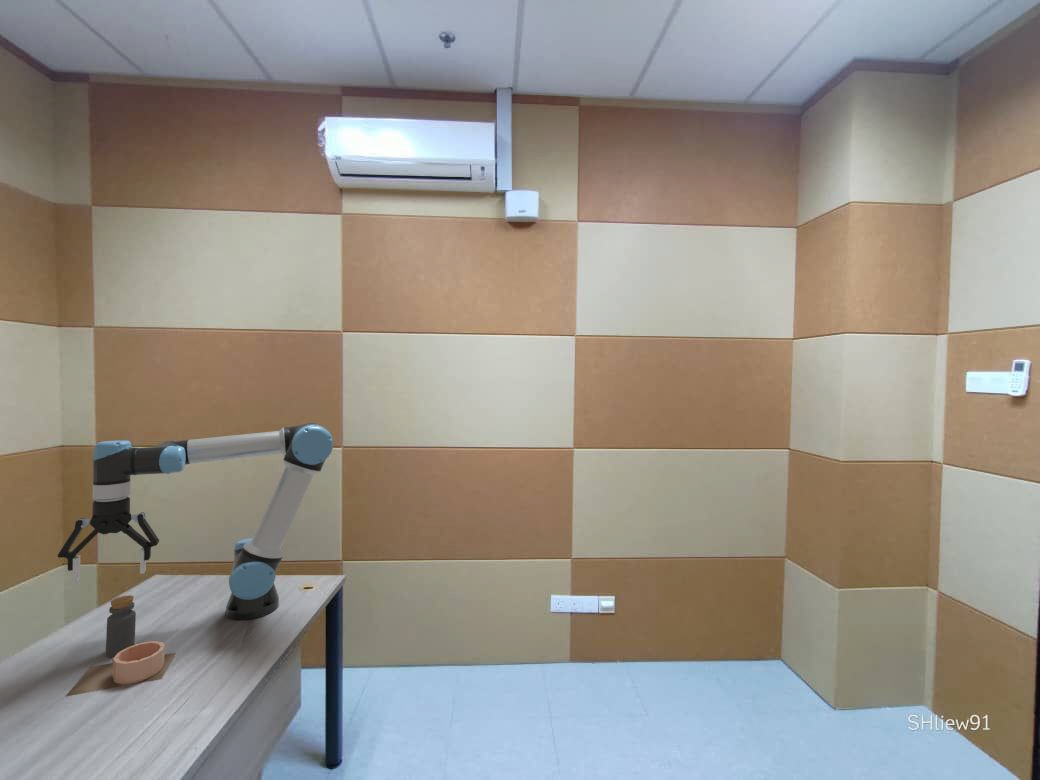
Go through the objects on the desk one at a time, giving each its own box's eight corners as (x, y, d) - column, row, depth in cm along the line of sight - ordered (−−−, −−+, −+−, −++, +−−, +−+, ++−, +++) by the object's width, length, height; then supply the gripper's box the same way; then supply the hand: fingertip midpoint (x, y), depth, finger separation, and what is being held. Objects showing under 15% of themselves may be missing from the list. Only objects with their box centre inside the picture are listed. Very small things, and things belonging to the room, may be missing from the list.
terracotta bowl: (168, 657, 119) (169, 638, 119) (156, 679, 110) (156, 658, 110) (122, 665, 115) (123, 645, 115) (105, 688, 106) (106, 666, 106)
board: (176, 656, 121) (176, 652, 122) (161, 682, 110) (161, 678, 110) (90, 670, 114) (90, 666, 114) (65, 700, 103) (65, 696, 103)
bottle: (117, 662, 118) (119, 605, 118) (99, 659, 119) (101, 602, 119) (139, 650, 124) (142, 595, 124) (122, 647, 125) (125, 593, 125)
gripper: (172, 490, 131) (170, 563, 131) (53, 500, 118) (52, 580, 118) (167, 496, 124) (166, 573, 124) (41, 506, 112) (39, 592, 112)
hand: (110, 577), depth 121 cm, fingers open, 13 cm apart
